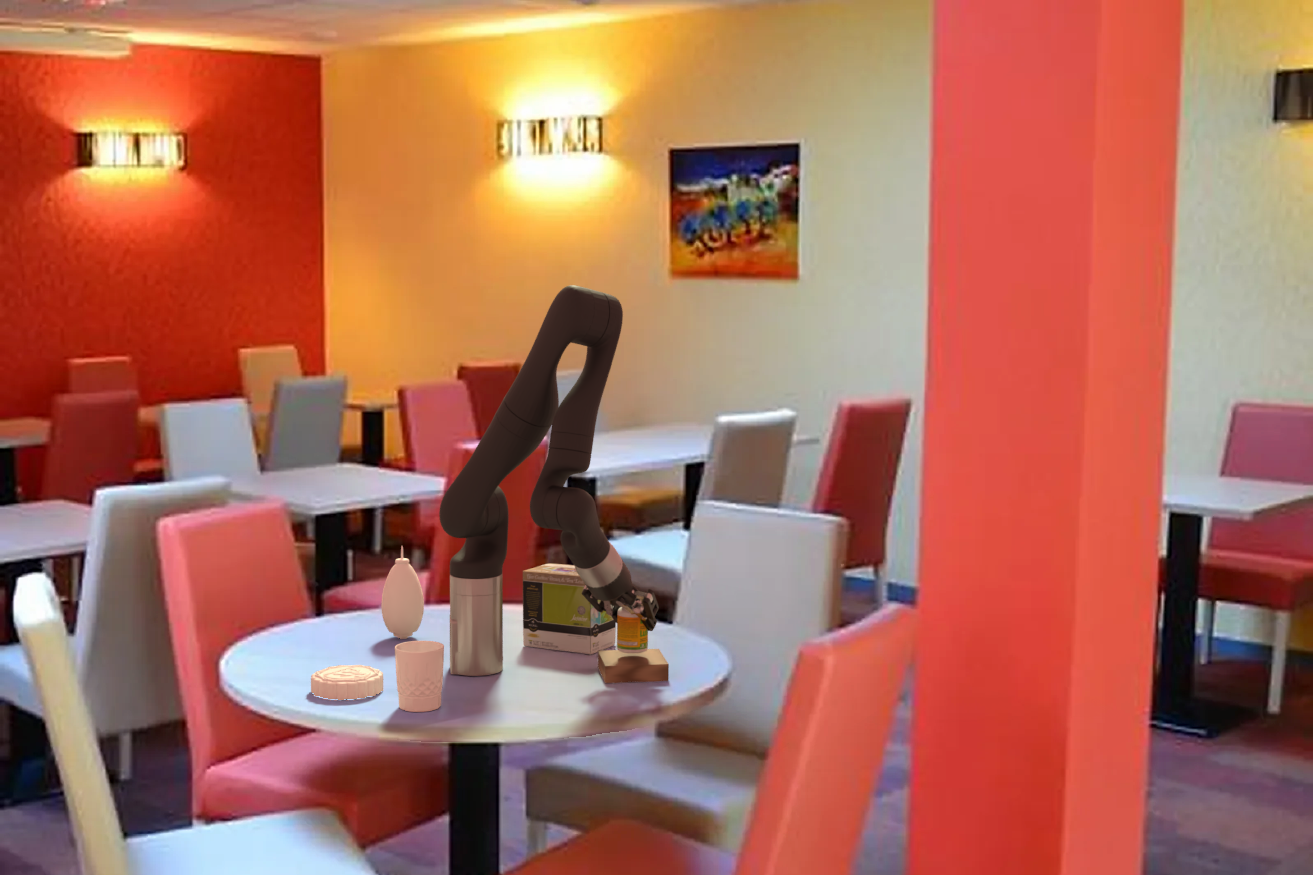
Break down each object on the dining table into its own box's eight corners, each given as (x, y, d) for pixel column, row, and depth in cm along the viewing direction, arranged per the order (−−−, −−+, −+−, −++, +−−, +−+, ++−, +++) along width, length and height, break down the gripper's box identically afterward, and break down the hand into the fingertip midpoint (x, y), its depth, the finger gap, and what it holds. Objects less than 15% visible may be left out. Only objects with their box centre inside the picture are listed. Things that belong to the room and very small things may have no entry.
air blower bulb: (374, 637, 304) (373, 544, 302) (408, 631, 309) (407, 540, 307) (396, 644, 298) (395, 550, 296) (431, 638, 303) (430, 545, 301)
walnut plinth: (605, 683, 272) (605, 666, 271) (597, 667, 282) (597, 650, 282) (668, 681, 273) (668, 664, 273) (658, 665, 284) (658, 648, 284)
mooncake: (346, 706, 257) (346, 684, 257) (295, 694, 264) (295, 673, 264) (398, 690, 267) (398, 669, 267) (348, 679, 274) (347, 659, 273)
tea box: (617, 645, 299) (617, 568, 297) (590, 656, 290) (590, 577, 289) (549, 635, 306) (549, 560, 304) (521, 646, 297) (520, 569, 296)
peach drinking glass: (446, 700, 261) (446, 640, 260) (441, 713, 253) (441, 652, 252) (398, 700, 260) (398, 640, 259) (392, 713, 252) (391, 652, 251)
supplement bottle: (644, 654, 274) (644, 599, 273) (613, 652, 275) (614, 597, 274) (650, 647, 279) (651, 593, 278) (620, 645, 280) (621, 591, 279)
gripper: (645, 554, 265) (681, 612, 277) (574, 546, 273) (612, 602, 284) (628, 591, 261) (665, 647, 273) (557, 581, 269) (595, 637, 280)
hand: (637, 624), depth 278 cm, fingers closed on supplement bottle, 5 cm apart
